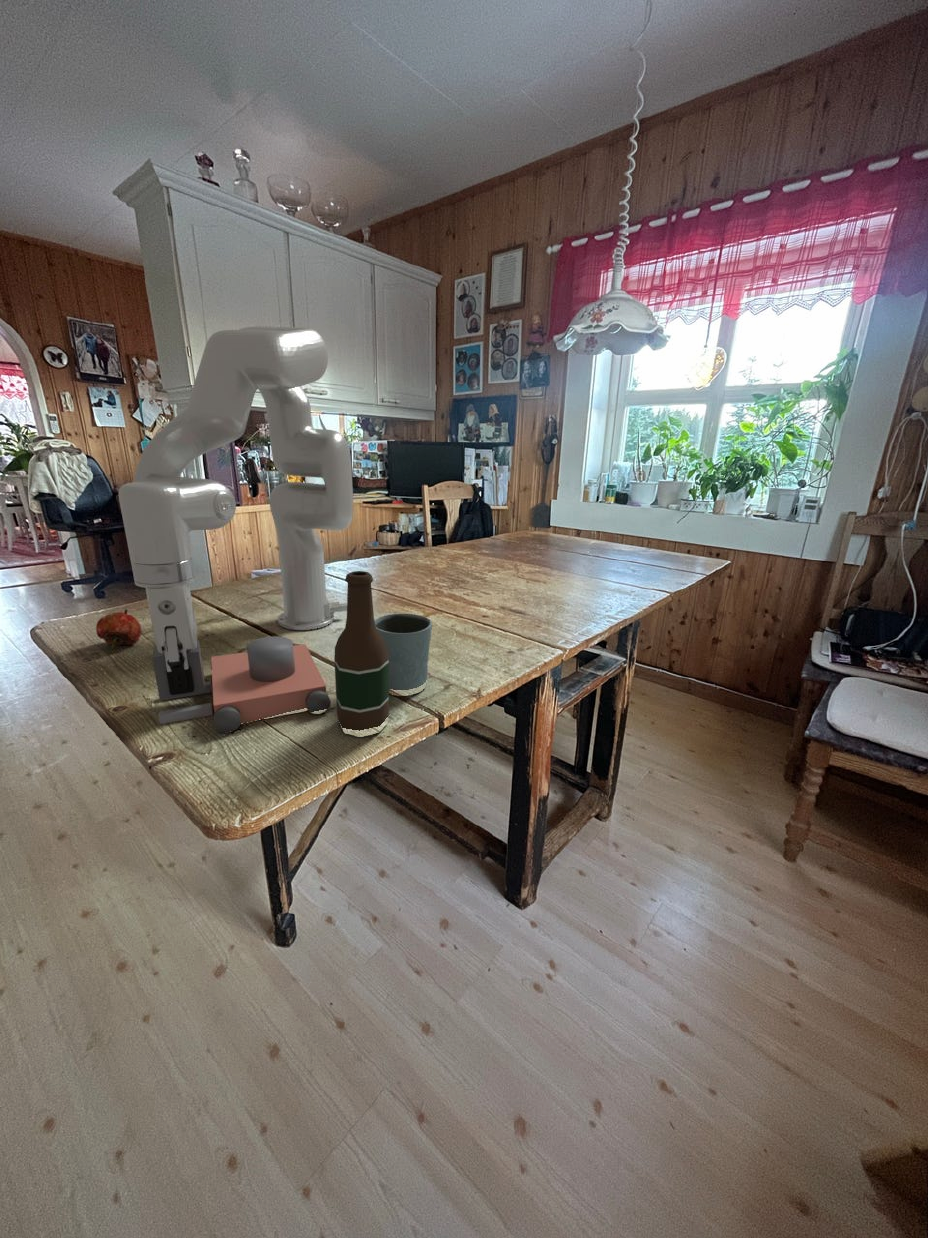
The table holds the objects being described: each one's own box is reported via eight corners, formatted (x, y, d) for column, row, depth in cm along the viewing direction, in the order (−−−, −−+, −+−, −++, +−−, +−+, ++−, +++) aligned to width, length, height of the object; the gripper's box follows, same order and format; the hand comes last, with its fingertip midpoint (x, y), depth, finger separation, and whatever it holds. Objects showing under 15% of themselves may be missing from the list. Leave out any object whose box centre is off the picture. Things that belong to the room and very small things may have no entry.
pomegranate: (137, 662, 95) (158, 619, 101) (110, 643, 89) (133, 599, 95) (104, 662, 96) (126, 620, 102) (75, 644, 90) (100, 600, 96)
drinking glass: (387, 704, 81) (387, 637, 76) (365, 678, 88) (363, 617, 84) (440, 690, 86) (442, 627, 82) (415, 668, 94) (415, 609, 90)
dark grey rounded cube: (204, 679, 79) (198, 639, 77) (204, 693, 75) (198, 651, 73) (162, 685, 77) (154, 644, 74) (159, 700, 72) (151, 657, 70)
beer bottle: (341, 711, 78) (334, 565, 69) (390, 711, 78) (389, 566, 70) (333, 739, 70) (324, 580, 62) (387, 739, 71) (385, 581, 63)
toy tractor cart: (306, 659, 95) (303, 616, 92) (331, 712, 77) (328, 661, 74) (165, 680, 84) (157, 632, 81) (156, 747, 67) (145, 689, 64)
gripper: (193, 584, 64) (211, 705, 70) (194, 557, 78) (209, 659, 84) (125, 589, 61) (150, 716, 67) (139, 559, 75) (159, 666, 81)
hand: (183, 683), depth 76 cm, fingers closed on dark grey rounded cube, 5 cm apart
